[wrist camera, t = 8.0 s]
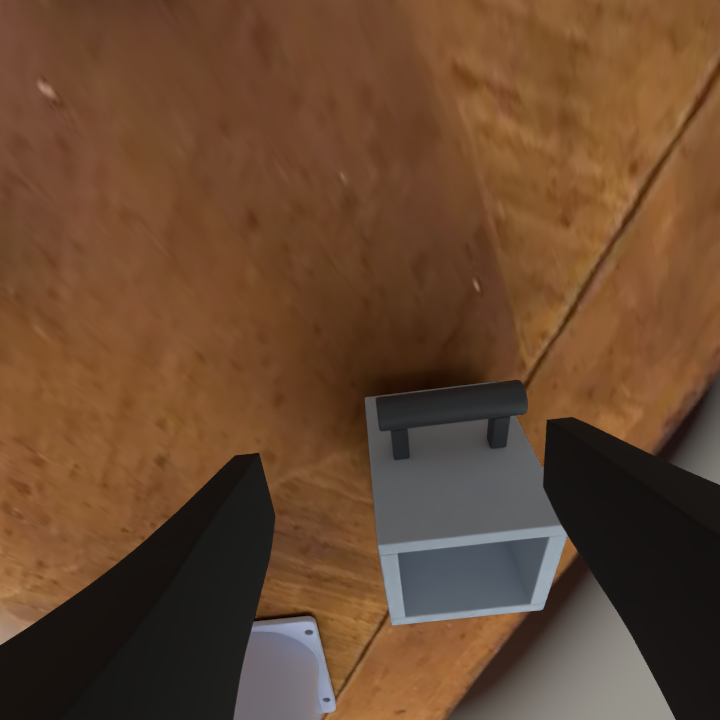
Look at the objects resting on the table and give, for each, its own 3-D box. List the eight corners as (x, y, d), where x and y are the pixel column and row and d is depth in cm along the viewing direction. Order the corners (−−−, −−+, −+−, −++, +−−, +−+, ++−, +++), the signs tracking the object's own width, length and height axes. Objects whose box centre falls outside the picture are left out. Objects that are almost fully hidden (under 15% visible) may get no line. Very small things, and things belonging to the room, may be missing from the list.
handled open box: (543, 610, 16) (591, 464, 11) (391, 626, 16) (367, 490, 11) (489, 467, 22) (503, 327, 16) (376, 480, 22) (356, 345, 17)
